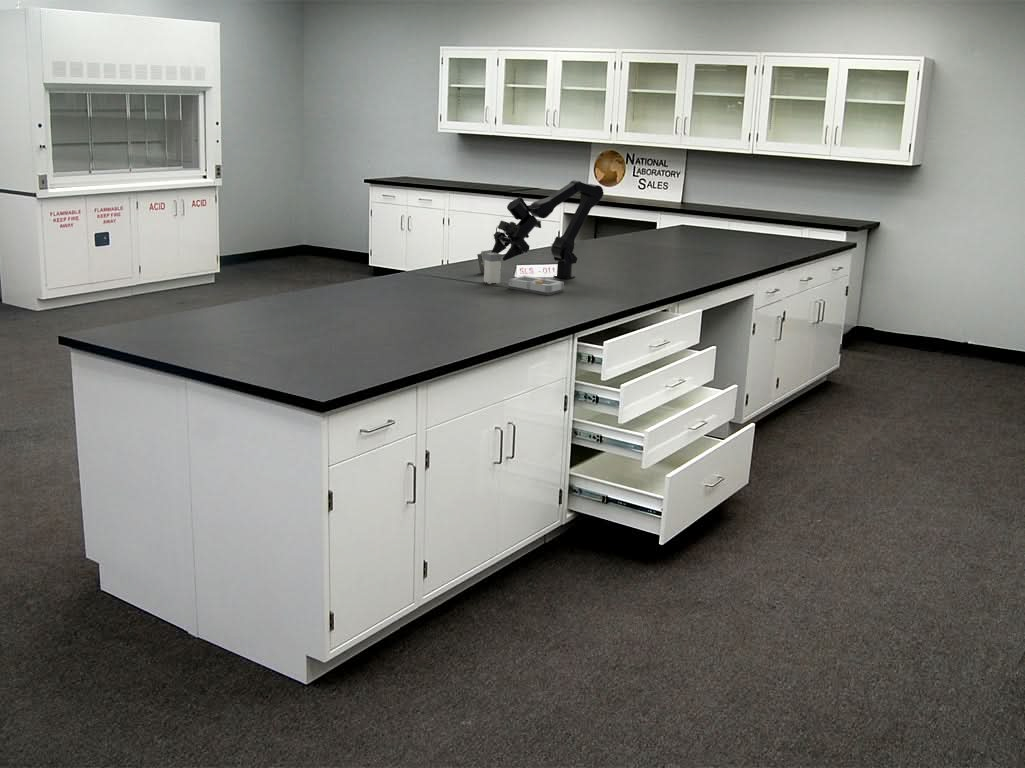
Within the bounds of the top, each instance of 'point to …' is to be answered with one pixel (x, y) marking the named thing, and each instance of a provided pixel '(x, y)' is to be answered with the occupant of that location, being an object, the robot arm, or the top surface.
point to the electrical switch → (482, 260)
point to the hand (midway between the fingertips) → (497, 258)
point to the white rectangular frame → (536, 285)
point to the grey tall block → (492, 268)
